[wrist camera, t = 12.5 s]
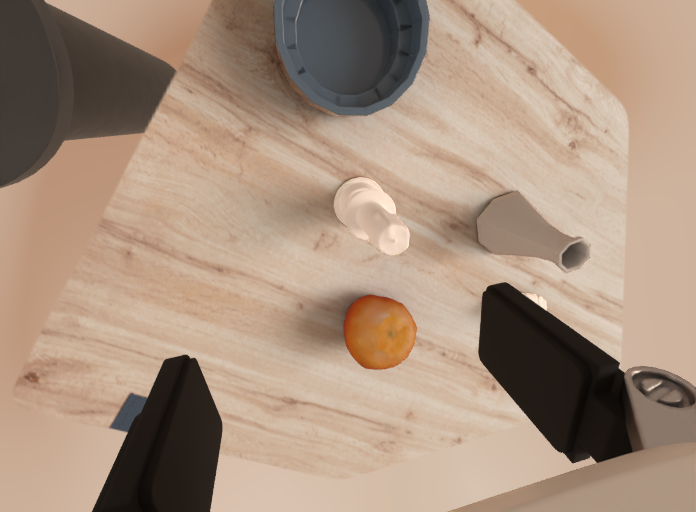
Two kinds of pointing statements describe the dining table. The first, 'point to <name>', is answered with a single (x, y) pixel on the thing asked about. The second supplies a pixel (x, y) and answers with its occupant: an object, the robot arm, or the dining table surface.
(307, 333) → the dining table surface
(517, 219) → the flask
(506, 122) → the dining table surface
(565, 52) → the dining table surface
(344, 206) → the candle
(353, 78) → the bowl
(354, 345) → the fruit
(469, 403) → the dining table surface
